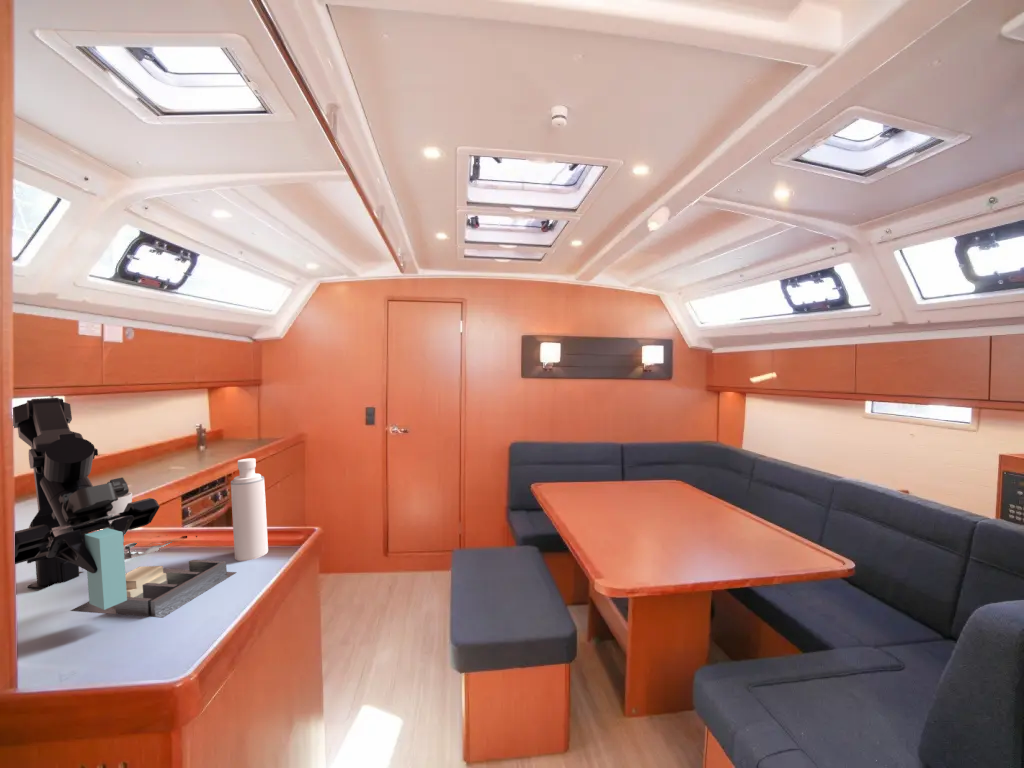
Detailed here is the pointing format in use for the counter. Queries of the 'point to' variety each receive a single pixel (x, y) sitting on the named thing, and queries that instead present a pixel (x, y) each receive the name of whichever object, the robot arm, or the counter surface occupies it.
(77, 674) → the counter surface
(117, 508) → the cup
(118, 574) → the teal block
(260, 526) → the white bottle
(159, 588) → the tray
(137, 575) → the upper offcut
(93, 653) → the counter surface
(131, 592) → the lower offcut
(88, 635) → the counter surface
